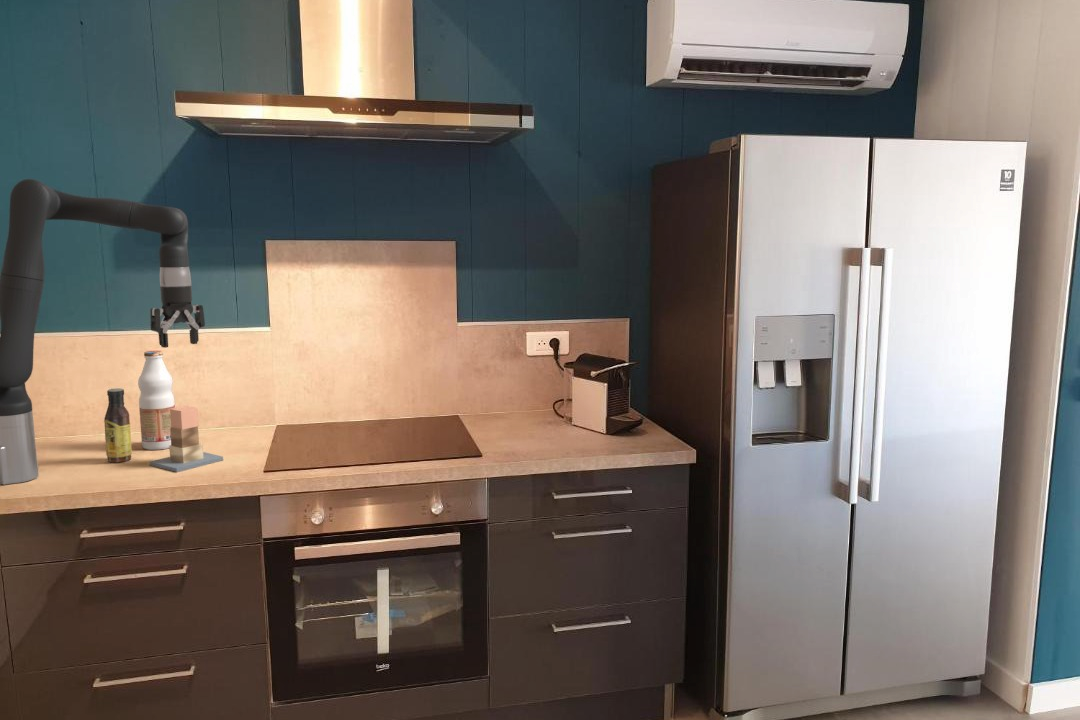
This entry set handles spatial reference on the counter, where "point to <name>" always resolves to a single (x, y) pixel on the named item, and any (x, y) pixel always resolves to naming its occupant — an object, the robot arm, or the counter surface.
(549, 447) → the counter surface
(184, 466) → the board
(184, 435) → the walnut block
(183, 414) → the terracotta block
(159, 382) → the fruit juice
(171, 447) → the oak plinth
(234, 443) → the counter surface
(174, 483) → the counter surface
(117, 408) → the sauce bottle
